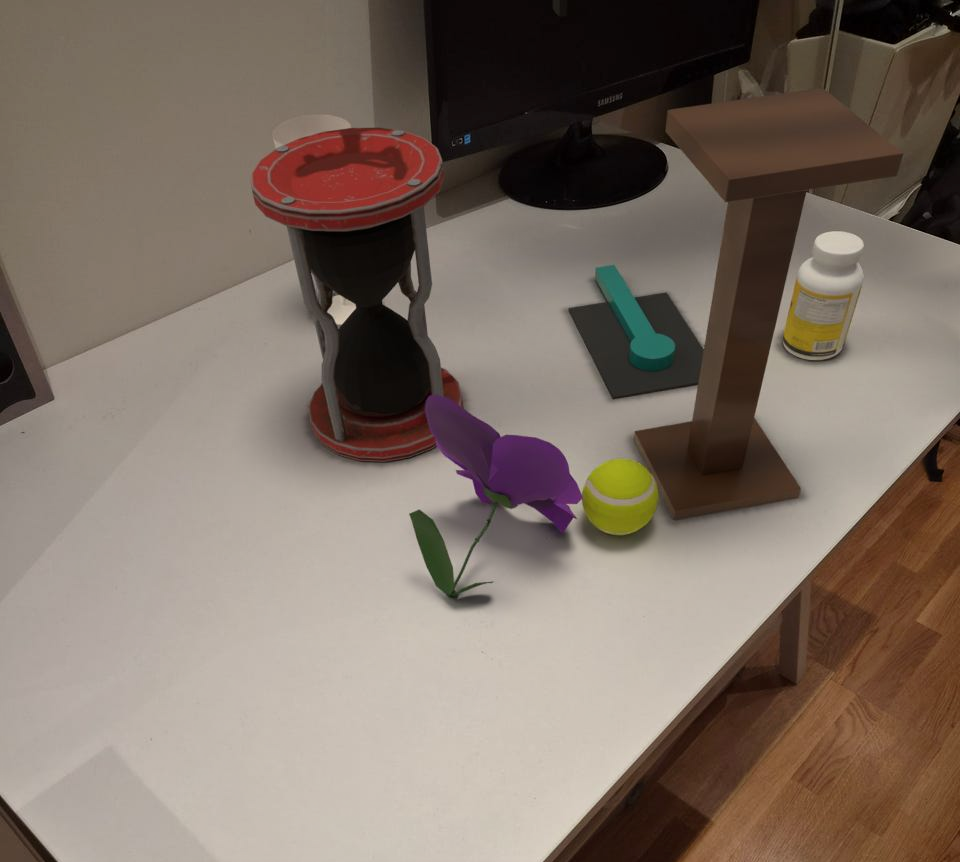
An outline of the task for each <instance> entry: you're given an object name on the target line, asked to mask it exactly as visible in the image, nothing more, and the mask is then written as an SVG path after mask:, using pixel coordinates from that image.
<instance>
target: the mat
mask: <svg viewBox="0 0 960 862" xmlns="http://www.w3.org/2000/svg"><path fill="white" fill-rule="evenodd" d="M634 298H635V300H636V301H637V303H638V305H639V306H640V308H641V310H642V311H643V313H644V315H645V316H646V318H647V320H648V321H649V323H650V325H651V326H652V328H653V330H654V331H655V333H656V334H662V335H665V336H667V337H669V338H670V339H672V340H673V341H674V343H675V353H674V360H673V363H672V364H671V365H670V366H669V367H668V368H666V369H663V370H659V371H645V370H641V369H638V368H636V367H635V366H633V365H632V364H631V362H630V360H629V353H630V344H631V342H630V340H629V338H628V336H627V334H626V333H625V331H624V329H623V327H622V325H621V324H620V322H619V320H618V318H617V317H616V315H615V313H614V311H613V309H612V308H611V306H610V304H609V302H608V301H604V302H598V303H593V304H592V303H591V304H586V305H578V306H573V307H568V313H569V315H570V317H571V319H572V321H573V323H574V325H575V328H576V329H577V331H578V333H579V335H580V337H581V339H582V341H583V342H584V345H585V347H586V349H587V351H588V353H589V355H590V356H591V359H592V360H593V363H594V365H595V366H596V369H597V371H598V372H599V375H600V377H601V380H602V381H603V382H604V385H605V387H606V389H607V391H608V392H609V395H610V397H611V399H612V400H617V399H624V398H630V397H635V396H636V397H637V396H641V395H647V394H653V393H659V392H665V391H671V390H672V391H673V390H677V389H682V388H688V387H694V386H698V382H699V376H700V370H701V364H702V358H703V351H704V347H703V345H701V343H700V341H699V340H698V338H697V337H696V336H695V333H694V332H693V331H692V329H691V327H690V326H689V324H688V323H687V322H686V320H685V318H684V316H683V315H682V314H681V312H680V310H679V309H678V308H677V306H676V305H675V302H673V300H672V299H671V297H670V295H669V294H668V293H667V292H660V293H655V294H654V293H653V294H648V295H642V296H634Z"/></svg>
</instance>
